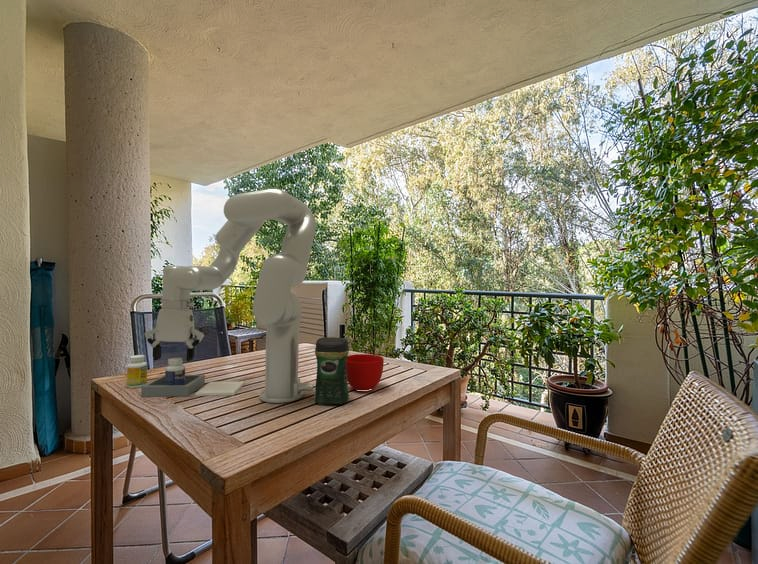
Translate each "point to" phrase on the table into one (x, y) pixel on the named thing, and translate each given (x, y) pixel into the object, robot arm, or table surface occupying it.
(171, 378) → the pill bottle
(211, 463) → the table surface
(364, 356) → the ceramic cup
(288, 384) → the robot arm
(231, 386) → the tile
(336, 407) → the table surface
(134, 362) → the supplement bottle
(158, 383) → the bin
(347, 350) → the coffee jar
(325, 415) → the table surface
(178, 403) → the table surface
